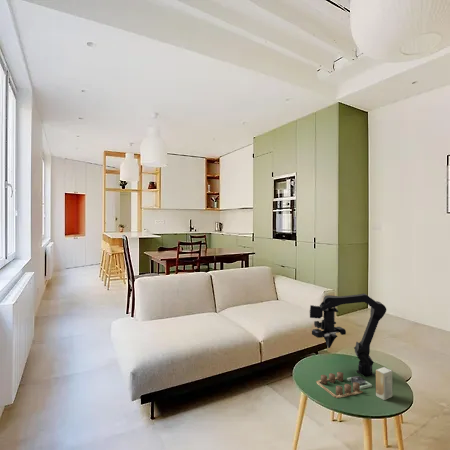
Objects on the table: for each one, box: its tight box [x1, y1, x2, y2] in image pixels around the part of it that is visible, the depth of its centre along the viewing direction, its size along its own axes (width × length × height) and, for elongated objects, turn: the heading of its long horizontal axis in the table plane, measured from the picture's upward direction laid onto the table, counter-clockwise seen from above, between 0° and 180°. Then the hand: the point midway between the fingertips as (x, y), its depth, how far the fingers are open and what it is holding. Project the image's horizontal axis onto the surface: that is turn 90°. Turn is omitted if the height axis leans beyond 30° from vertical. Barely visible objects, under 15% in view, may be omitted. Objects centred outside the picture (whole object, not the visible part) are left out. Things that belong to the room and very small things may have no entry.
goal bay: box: [346, 376, 373, 390], centre depth 149 cm, size 7×9×1 cm
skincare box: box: [375, 366, 393, 401], centre depth 137 cm, size 6×4×12 cm
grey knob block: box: [350, 375, 366, 386], centre depth 148 cm, size 4×4×3 cm
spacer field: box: [315, 371, 364, 399], centre depth 145 cm, size 16×15×4 cm
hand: (328, 347), depth 163 cm, fingers closed
